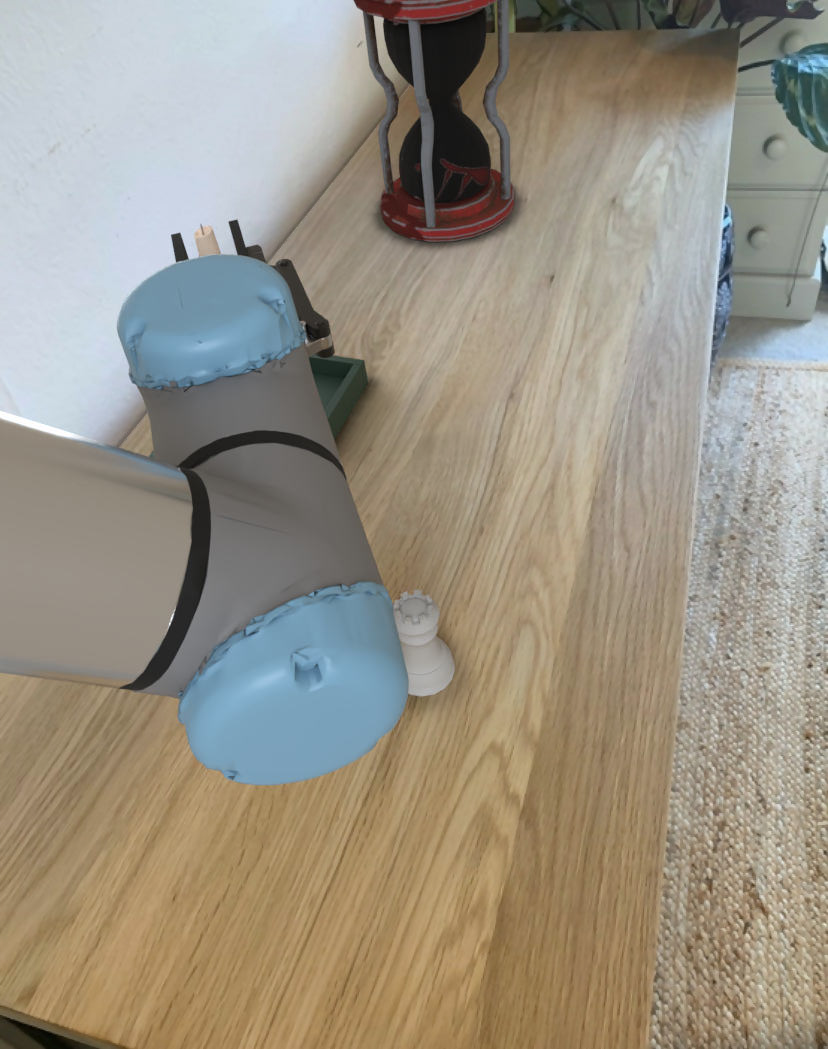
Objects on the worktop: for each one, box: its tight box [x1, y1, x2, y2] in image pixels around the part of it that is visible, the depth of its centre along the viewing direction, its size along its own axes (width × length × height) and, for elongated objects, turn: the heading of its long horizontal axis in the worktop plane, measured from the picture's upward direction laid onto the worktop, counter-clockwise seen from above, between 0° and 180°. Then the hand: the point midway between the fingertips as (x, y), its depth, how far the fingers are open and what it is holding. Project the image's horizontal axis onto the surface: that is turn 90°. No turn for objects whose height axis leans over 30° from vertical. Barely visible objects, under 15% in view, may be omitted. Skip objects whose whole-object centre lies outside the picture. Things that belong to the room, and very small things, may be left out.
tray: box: [147, 354, 369, 458], centre depth 78 cm, size 18×14×3 cm
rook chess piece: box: [393, 589, 456, 697], centre depth 57 cm, size 4×4×8 cm
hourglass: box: [353, 0, 515, 243], centre depth 94 cm, size 16×16×25 cm
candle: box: [193, 223, 222, 257], centre depth 65 cm, size 5×5×10 cm
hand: (209, 242), depth 68 cm, fingers closed on candle, 4 cm apart
